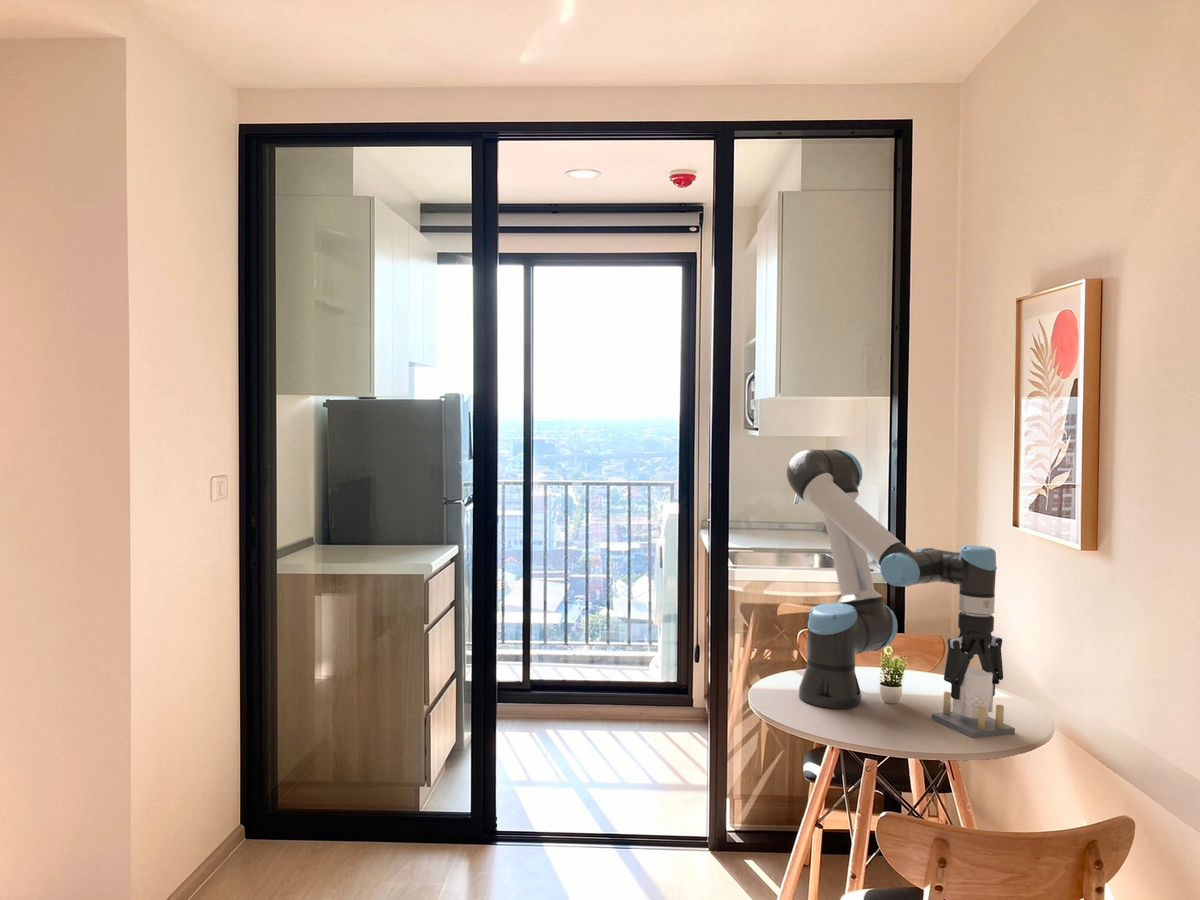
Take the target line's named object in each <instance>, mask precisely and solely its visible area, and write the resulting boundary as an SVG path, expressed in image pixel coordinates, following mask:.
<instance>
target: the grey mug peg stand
mask: <svg viewBox="0 0 1200 900" xmlns="http://www.w3.org/2000/svg"><path fill="white" fill-rule="evenodd" d="M951 706H952V697H951V691H943V707H942V708H943V710H942V711H941V712H934V713H933V712H931V719H932V720H933V721H936V722H938V723H940V724H943V725H945V726H947V727H948V728H951V729H952V730H955V731H956V732H959V733H961V734H963V735H965V736H967V737H969V738H973V739H974V738H975V739H976V738H982V737H983V738H985V737H992V736H993V737H995V736H1001V735H1010V734H1012V735H1013V734H1016V733H1015V732H1016V728H1015V727H1014V726H1011V725H1010V724H1007V723H1004V717H1005V716H1004V715H1005V714H1004V713H1005V706H1004V705H1002V704H996V706H995V718H992V717H991V716H988V718H986V707H982V706H979V707H978V719H975V718H968V717H965V716H962V715H960V714H958V713H956V712H954V711H951V709H952V708H951Z"/></svg>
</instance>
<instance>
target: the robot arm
mask: <svg viewBox="0 0 1200 900" xmlns="http://www.w3.org/2000/svg"><path fill="white" fill-rule="evenodd" d="M786 477H787V481H788V483H789V486H790V487H791V489H792V490H793V492H794V493H795V494H796V495H797V496H798V497H799V498H800V499H801V500H803V502H804V503H806V504H808V505H809V504H810V505H811V504H813V506H815V507H816V508H817V509H818V510H819V511H820V512H821V513H823V517H824V522H825V525H826V527H825V528H826V530H827V535H828V541H829V544H830V548H831V555H832V557H833V558H832V559H833V563H834V568H835V572H836V576H837V577H836V578H837V581H838V585H839V591H840V594H841V596H840V598H838V600H837V602H832V603H829V602H828V603H827V602H826V603H821V604H818V605H815V606H814V607H812V608H811V609H810V610H809V613H808V621H807V655H806V656H807V657H806V658H807V659H806V660H807V662H806V669H805V671H804V674H803V677H802V679H801V682H800V684H799V687H798V697H799V698H800V700H801V701H804V702H805V703H807V704H810V705H813V706H817V707H822V708H827V709H837V710H838V709H839V710H840V709H853V708H857V707H859V706H860V705H861V704H862V692H861V689H860V685H859V681H858V678H857V675H856V655H858V654H863V653H864V654H865V653H869V652H875V651H876V652H877V651H880V650H882V649H884V648H887V647H888V646H889V645H891V644H892V643H893V641H894V640H895V638H896V636H897V633H898V619H897V616H896V615H895V612H894V611H893V610H892V609H891V608H890V607H889V606H887V605H885V602H884V598H883V595H882V594H880V592H878V591H876V589H875V586H874V583H873V577H872V573H871V569H870V564H869V559H868V556H869V557H870V558H871V559H872V560H873V561H874V562H875V563H877V564H878V565H879V566H880V573H881V576H882V578H883V580H884V581H885V582H886V583H887V584H888V585H890V586H893V587H910V586H915V585H921V584H929V583H938V582H939V583H947V584H953V585H958V587H959V596H958V610H959V613H958V617H957V618H958V619H957V620H958V622H957V623H958V624H957V626H958V629H959V635H958V637H957V638H950V637H949V638H947V645H948V646H947V647H948V650H947V656H946V664H945V668H944V674H943V675H944V676H943V680H944V681H945V682H947V683H950V684H951V687H950V688H951V690H950V693H951V699H952V711H954V712H956V713H958V714H960V715H964V691H965V686H963V685H962V682H963V679H964V676H965V674H966V671H967V668H968V667H969V665H970V662H971V660H972V659H974V657H975V655H977V656H978V659H979V662H980V667H981V669H983V670H984V671H985V672H988V673H989V672H992V673H993V679H992V690H991V700H990V706H989V713H993V710H994V709H993V706H994V705H993V703H994V697H995V694H996V685H999V684H1000V681H1002V680H1003V679H1004V671H1003V668H1004V667H1003V658H1002V657H1003V655H1002V645H1003V638H1002V637H998V636H995V635H992V633H993V632H994V629H995V616H994V615H993V614H994V613H995V602H996V600H995V599H996V598H995V597H996V595H995V594H996V577H997V576H996V573H997V569H998V567H997V553H996V550H995V549H994V548H992V547H990V546H989V547H988V546H983V545H972V544H971V545H963V546H962V547H961V548H960V552H955V551H954V552H953V551H948V550H943V549H935V548H933V547H928V548H927V547H919V548H917V549H915V551H913V550H911V549H910V548H909V547H908V546H906V545H905V544H904V543H903V542H902V541H900V540H899V539H898V538H897V537H896V536H895V535H894V534H893V533H892V532H890V531H889V530H888V529H887V528H886V527H885V526H883V525H882V524H881V523H880V521H878V520H877V519H876V518H874V517H873V515H871V513H869V512H868V511H867V510H866V509H865V508H863V507H862V506H861V505H860V504H859V503H858V502H857V501H856V500H857V498H858V496H859V495H860V494H859V489H858V488H859V486H860V485H861V481H862V480H863V470H862V466H861V463H860V461H859V460H858V458H857V457H856V456H855V455H854V454H852V453H850V452H849V451H846V450H841V449H835V448H833V449H811V448H810V449H809V448H808V449H804V450H801V451H799V452H797V453H796V454H794V455H793V456H792V457H791V459H790V460H789V462H788V465H787V467H786ZM867 555H868V556H867ZM952 711H951V712H952Z"/></svg>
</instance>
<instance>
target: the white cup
mask: <svg viewBox="0 0 1200 900" xmlns="http://www.w3.org/2000/svg"><path fill="white" fill-rule="evenodd" d="M992 679H993V673H992V672H989V673H988V672H985V671H984V670H983V669H982V668H979V667H974V666H968V668H967V671H966V674H965V676H964V679H963V682H962V685H963V686H965V691H964V715H962V716H965V717H968V718H975V719H978V707H979V706H982V707H986V718H988V717H989V714H990V712H989V706H990V700H991V690H992Z"/></svg>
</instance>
